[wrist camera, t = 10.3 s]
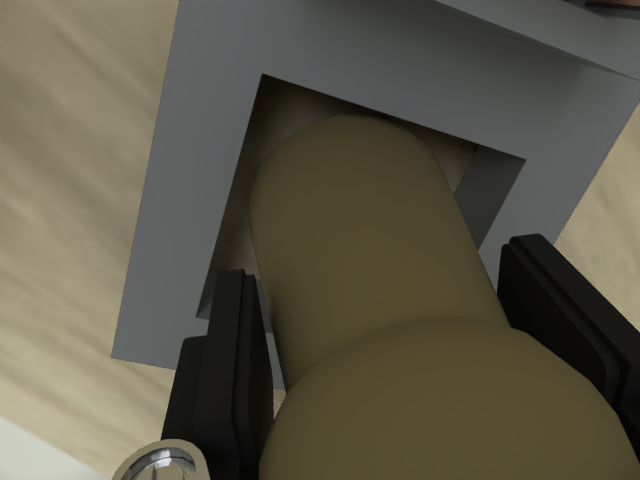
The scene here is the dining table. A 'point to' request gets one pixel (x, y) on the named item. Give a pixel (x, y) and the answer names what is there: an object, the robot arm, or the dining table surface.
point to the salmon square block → (618, 2)
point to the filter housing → (385, 96)
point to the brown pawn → (404, 328)
